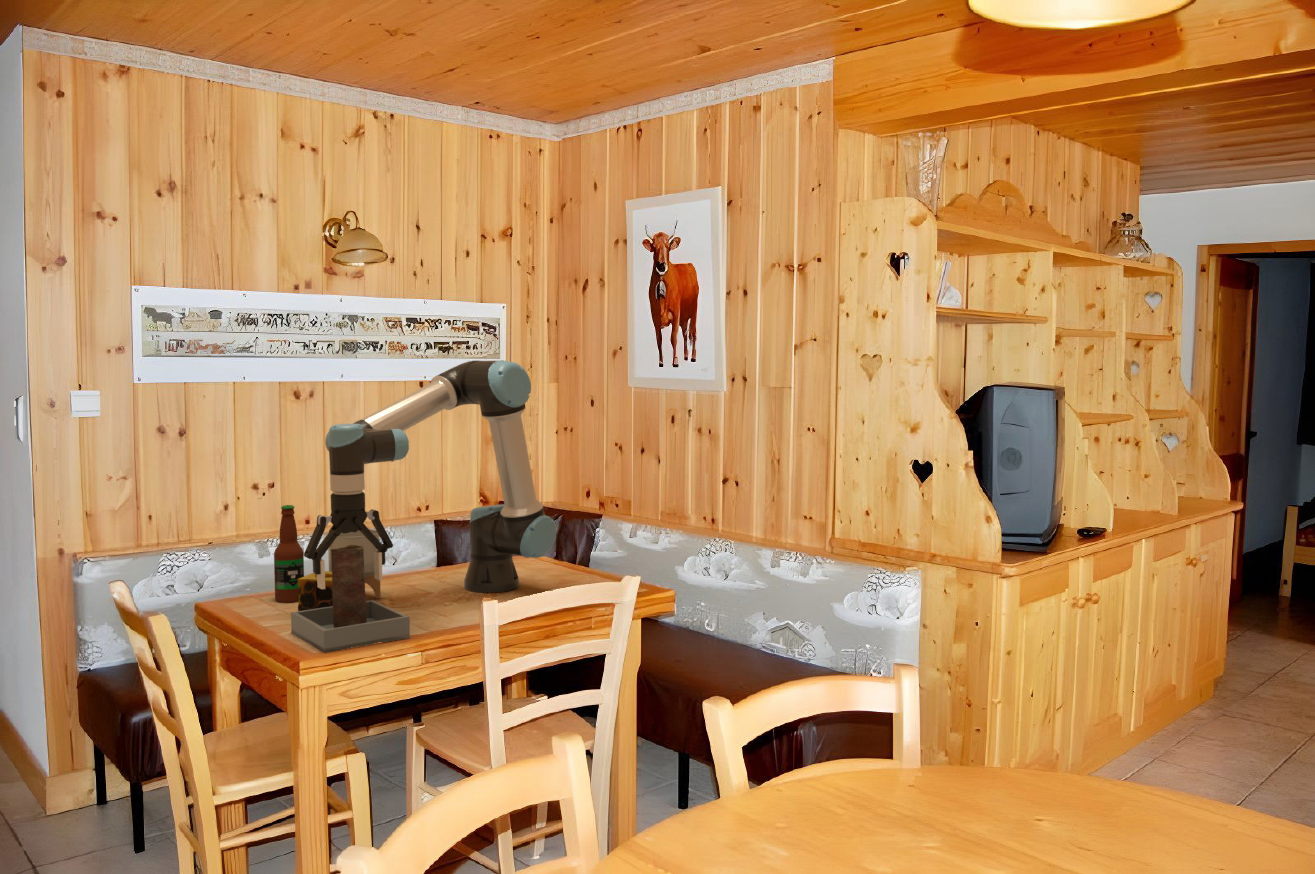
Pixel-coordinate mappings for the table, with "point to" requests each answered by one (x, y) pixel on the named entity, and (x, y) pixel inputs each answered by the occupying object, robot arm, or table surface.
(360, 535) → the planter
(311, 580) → the candle
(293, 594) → the bottle
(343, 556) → the candle
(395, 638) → the bin
